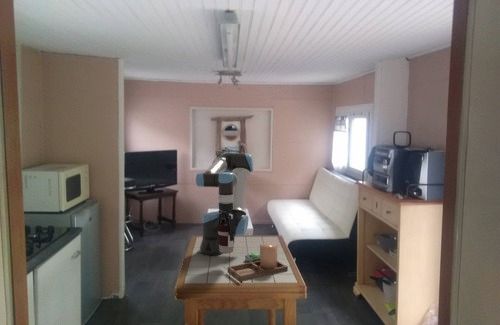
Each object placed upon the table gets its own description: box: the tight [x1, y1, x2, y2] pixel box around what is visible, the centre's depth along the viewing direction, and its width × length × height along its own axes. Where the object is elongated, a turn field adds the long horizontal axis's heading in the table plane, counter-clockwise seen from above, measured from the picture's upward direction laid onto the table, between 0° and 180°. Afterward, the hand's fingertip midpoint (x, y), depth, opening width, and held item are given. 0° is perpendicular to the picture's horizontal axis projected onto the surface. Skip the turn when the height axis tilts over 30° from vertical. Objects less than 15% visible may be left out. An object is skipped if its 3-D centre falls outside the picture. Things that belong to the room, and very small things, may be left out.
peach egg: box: [259, 242, 279, 270], centre depth 198 cm, size 9×9×12 cm
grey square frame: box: [244, 253, 260, 263], centre depth 208 cm, size 8×8×4 cm
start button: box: [250, 252, 260, 259], centre depth 208 cm, size 5×5×3 cm
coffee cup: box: [217, 222, 236, 254], centre depth 202 cm, size 10×10×15 cm
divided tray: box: [227, 260, 289, 284], centre depth 195 cm, size 14×27×3 cm, turn 119°
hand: (226, 243), depth 202 cm, fingers closed on coffee cup, 10 cm apart
